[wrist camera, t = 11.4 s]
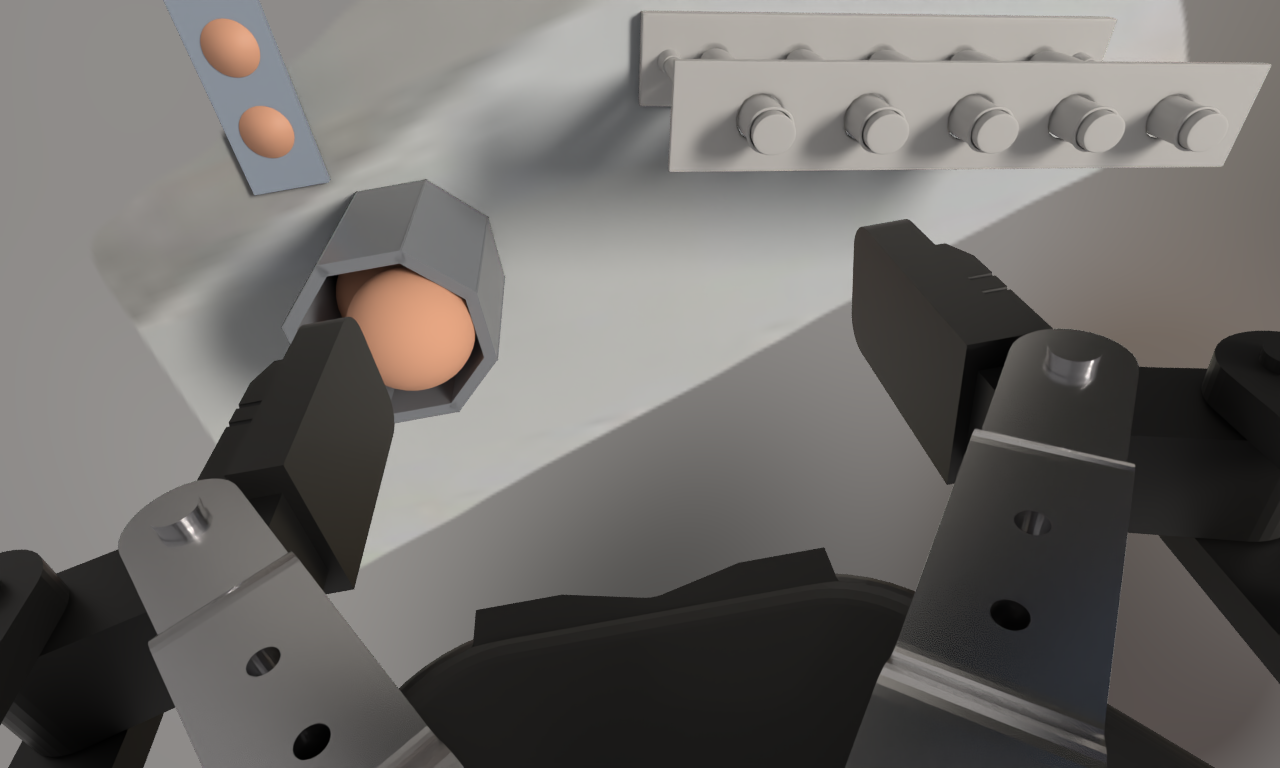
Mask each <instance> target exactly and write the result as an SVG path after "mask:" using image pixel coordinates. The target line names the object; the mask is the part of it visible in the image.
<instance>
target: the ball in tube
mask: <svg viewBox="0 0 1280 768" xmlns="http://www.w3.org/2000/svg"><path fill="white" fill-rule="evenodd" d="M399 266H403V265H402V264H394V265H388V266H383V267H377V268H372V269H366V270H360V271H355V272H349V273H344V274H339V275H338V279H337V283H336V300H337V305H338V309H339V311H340V313H341V316H342V318H344V317H346V315H347V311H348V308H349V305H350V303H351V301H352V299H353V297H354V295H355V294H356V292H357V291H358V289H359V288H360V287H361V286H362V285H363V284H364V283H365V282H366V281H367V280H369V279H370V278H371V277H373V276H374V275H376V274H378V273H380V272H382V271H384V270H387V269H390V268H393V267H399Z"/></svg>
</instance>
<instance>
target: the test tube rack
mask: <svg viewBox="0 0 1280 768" xmlns="http://www.w3.org/2000/svg"><path fill="white" fill-rule="evenodd" d="M1116 22H1117V19H1115V18H1111V17H1093V16H1008V15H932V14H855V13H778V12H703V11H641V28H640V69H639V104H640V106H671V119H670V139H669V160H668V170H669V172H723V171H823V170H926V169H1029V168H1126V167H1127V168H1130V167H1131V168H1135V167H1222V166H1223V164H1224V162H1225V160H1226V158H1227V156H1228V154H1229V152H1230V150H1231V148H1232V146H1233V144H1234V142H1235V140H1236V137H1237V135H1238V133H1239V131H1240V129H1241V127H1242V125H1243V123H1244V121H1245V119H1246V117H1247V115H1248V113H1249V111H1250V108H1251V107H1252V104H1253V102H1254V100H1255V98H1256V96H1257V94H1258V92H1259V90H1260V88H1261V86H1262V83H1263V81H1264V80H1265V77H1266V75H1267V73H1268V71H1269V69H1270V67H1271V65H1270V64H1267V63H1236V62H1225V63H1224V62H1102V61H1103V58H1104V55H1105V53H1106V50H1107V47H1108V44H1109V42H1110V39H1111V36H1112V33H1113V30H1114V28H1115V25H1116ZM737 126H738V127H737ZM738 128H739V129H740V130H741V132H742V133H743V134H744V136H745V137H744V136H743V135H741V134H740V131H739V129H738ZM845 130H846V131H847V132H848V133H849V134H850V135H852V136H853V137H854V138H855V139H854V138H852V137H850V136H849V135H847V133H846V131H845ZM949 132H951V133H952V134H954V135H955V136H957V137H958V138H954V137H953V136H952V135H950V134H949ZM1049 132H1050V133H1052V134H1054V135H1055V136H1057V137H1059V138H1055V137H1053V136H1052V135H1051V134H1049ZM1147 133H1148V134H1151V135H1153V136H1155V137H1157V138H1153V137H1150V136H1149V135H1148V134H1147ZM959 138H960V139H959ZM1060 138H1061V139H1060Z"/></svg>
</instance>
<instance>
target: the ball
mask: <svg viewBox="0 0 1280 768" xmlns="http://www.w3.org/2000/svg"><path fill="white" fill-rule="evenodd" d="M346 317H352V318H354V319H355V320H356V322H357V323H358V324H359V326H360V328H361V330H362V332H363V335H364V337H365V339H366V342H367V344H368V346H369V349H370V351H371V353H372V356H373V358H374V360H375V363H376V365H377V368H378V370H379V372H380V375H381V377H382V379H383V382H384V384H385V385H386V386H388V387H391V388H394V389H400V390H406V391H419V390H425V389H429V388H433V387H436V386H438V385H440V384H442V383H444V382H446V381H448V380H449V379H450V378H452V377H453V376H454V375H456V374H457V373H458V372H459V371H460V370H461V368H462V367H463V366H464V365H465V363H466V362H467V360H468V358H469V356H470V354H471V352H472V349H473V346H474V343H475V336H476V330H475V327H474V324H473V321H472V318H471V315H470V312H469V309H468V305H467V302H466V299H464V298H462V297H460V296H458V295H457V294H455V293H453V292H451V291H449V290H447V289H446V288H444V287H442V286H440V285H438V284H436V283H435V282H433V281H431V280H429V279H427V278H425V277H424V276H422V275H420V274H418V273H416V272H414V271H413V270H411V269H409V268H407V267H405V266H399V267H393V268H390V269H387V270H384V271H382V272H380V273H378V274H376V275H374V276H373V277H371V278H370V279H369V280H367V281H366V282H365V283H364V284H363V285H362V286H361V287H360V288H359V289H358V291H357V292H356V294H355V295H354V297H353V299H352V301H351V303H350V305H349V308H348V311H347V315H346Z"/></svg>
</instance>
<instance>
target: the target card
mask: <svg viewBox="0 0 1280 768" xmlns="http://www.w3.org/2000/svg"><path fill="white" fill-rule="evenodd" d="M163 1H164V3H165V5H166V7H167V9H168V11H169V13H170V15H171V18H172V20H173V22H174V24H175V26H176V28H177V31H178V33H179V35H180V37H181V39H182V41H183V43H184V46H185V48H186V50H187V52H188V54H189V56H190V59H191V61H192V63H193V65H194V67H195V69H196V71H197V74H198V76H199V78H200V80H201V82H202V84H203V86H204V89H205V90H206V93H207V95H208V97H209V99H210V101H211V104H212V106H213V108H214V110H215V112H216V114H217V116H218V118H219V121H220V123H221V125H222V127H223V129H224V131H225V133H226V136H227V138H228V140H229V142H230V144H231V146H232V148H233V151H234V153H235V155H236V157H237V159H238V161H239V163H240V166H241V168H242V170H243V172H244V174H245V176H246V178H247V181H248V183H249V185H250V187H251V189H252V191H253V193H254V195H259V194H265V193H271V192H276V191H282V190H287V189H293V188H299V187H304V186H310V185H316V184H321V183H327V182H329V181H330V180H331V179H330V177H329V174H328V172H327V169H326V167H325V164H324V162H323V159H322V157H321V154H320V152H319V149H318V147H317V144H316V142H315V139H314V137H313V134H312V132H311V129H310V127H309V124H308V122H307V119H306V117H305V114H304V112H303V109H302V107H301V104H300V102H299V99H298V97H297V94H296V92H295V89H294V87H293V84H292V82H291V79H290V77H289V74H288V72H287V69H286V67H285V64H284V62H283V59H282V57H281V54H280V51H279V49H278V46H277V44H276V41H275V39H274V36H273V34H272V31H271V29H270V26H269V24H268V21H267V19H266V16H265V14H264V11H263V9H262V6H261V4H260V1H259V0H163Z"/></svg>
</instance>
